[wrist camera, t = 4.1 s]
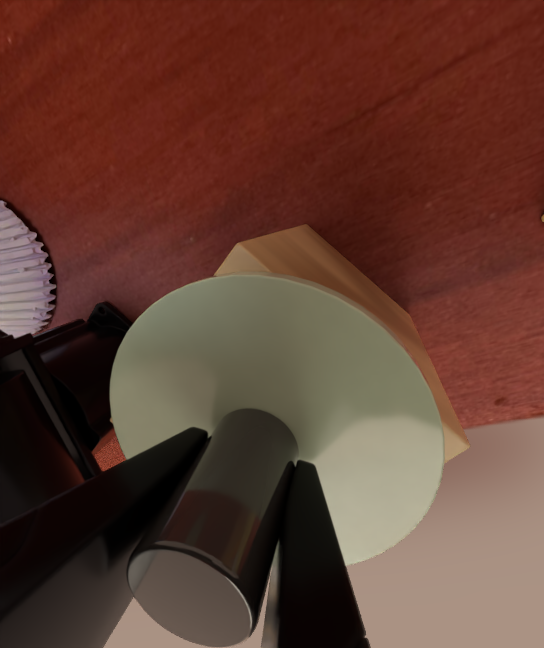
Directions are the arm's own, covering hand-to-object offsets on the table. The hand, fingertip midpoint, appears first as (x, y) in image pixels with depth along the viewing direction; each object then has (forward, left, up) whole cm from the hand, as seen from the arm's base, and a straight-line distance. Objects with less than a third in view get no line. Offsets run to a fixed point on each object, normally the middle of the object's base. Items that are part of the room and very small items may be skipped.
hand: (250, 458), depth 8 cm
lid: (0, 0, -1) cm, 1 cm away
